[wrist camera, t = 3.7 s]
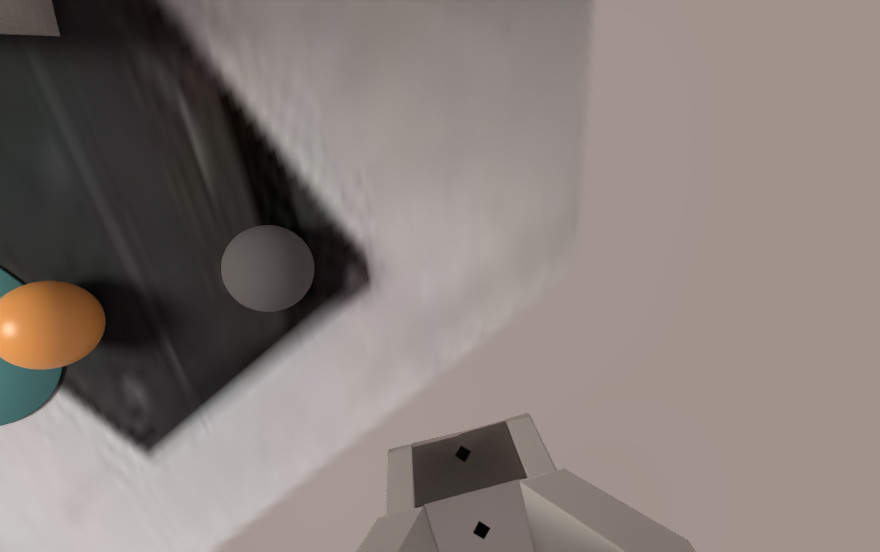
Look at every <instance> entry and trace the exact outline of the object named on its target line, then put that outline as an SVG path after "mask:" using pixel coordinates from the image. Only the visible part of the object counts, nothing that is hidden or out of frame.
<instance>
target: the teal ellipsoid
mask: <svg viewBox="0 0 880 552" xmlns="http://www.w3.org/2000/svg"><path fill="white" fill-rule="evenodd" d="M23 285H24V284H23V283H22V282H20V281H19V280H18V279H16V278H15V277H14V276H12V275H11V274H10V273H8V272H7V271H5V270H4V269H2V268H0V298H1V297H3V296H4V295H5V294H7V293H8V292H10V291H12V290H14V289H16V288H18V287H20V286H23ZM62 369H63V367H59V368H54V369H45V370H37V369H27V368H23V367H19V366H16V365H13V364H11V363H9V362H7V361H5V360H4V359H2V358H1V357H0V425H4V424H8V423H11V422H14V421H16V420H19V419H21V418H23V417H25V416H27V415H29V414H30V413H32V412H33V411H35V410H36V409H37V408H39V407H40V406H41V405H42V404H43V403H44V402H45V401H46V400H47V399H48V398H49V397H50V396H51V394H52V393H53V392H54V390H55V388H56V386H57V385H58V383H59V380H60V377H61V374H62Z"/></svg>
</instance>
